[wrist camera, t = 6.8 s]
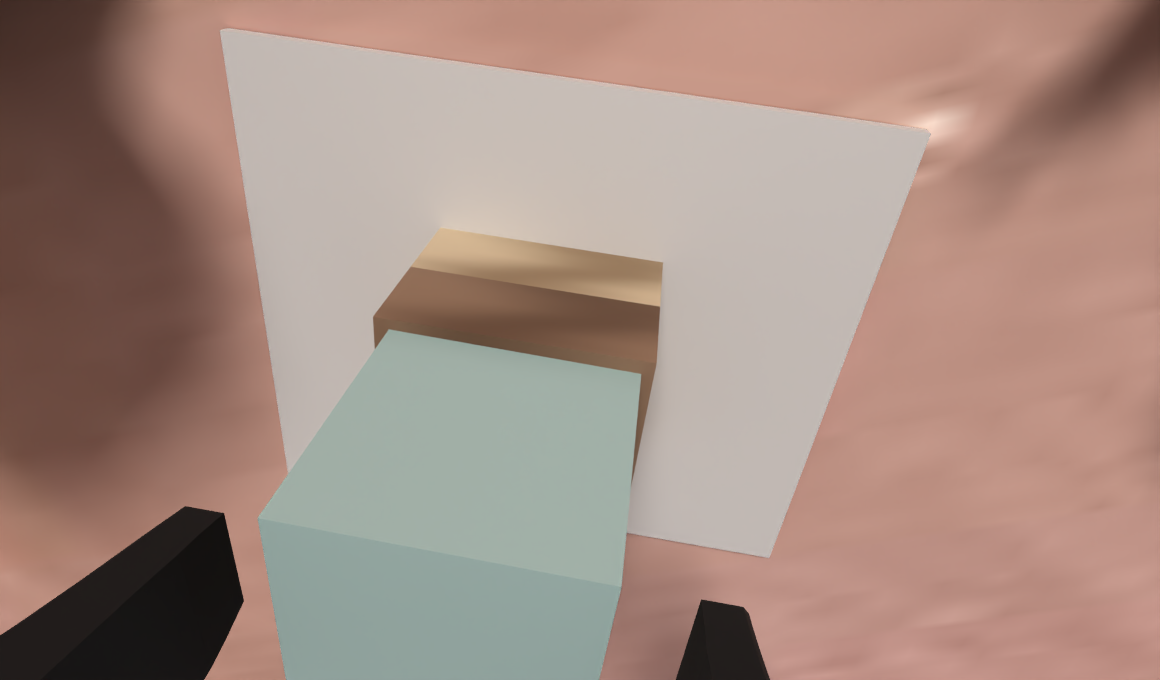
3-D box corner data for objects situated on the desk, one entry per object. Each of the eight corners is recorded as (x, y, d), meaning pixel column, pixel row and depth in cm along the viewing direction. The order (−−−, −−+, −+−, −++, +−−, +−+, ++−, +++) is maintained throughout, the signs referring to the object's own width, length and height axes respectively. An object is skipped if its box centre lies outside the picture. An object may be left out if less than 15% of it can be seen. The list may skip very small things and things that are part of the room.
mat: (926, 129, 14) (930, 133, 13) (768, 549, 20) (769, 558, 20) (227, 27, 14) (219, 30, 14) (292, 466, 21) (288, 473, 20)
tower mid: (659, 306, 14) (656, 363, 12) (623, 491, 16) (616, 558, 15) (410, 266, 14) (372, 317, 12) (414, 455, 17) (384, 517, 15)
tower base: (663, 262, 15) (659, 306, 14) (629, 436, 18) (623, 491, 16) (440, 227, 16) (410, 266, 14) (439, 404, 18) (414, 455, 17)
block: (641, 374, 12) (621, 587, 8) (604, 549, 15) (576, 775, 11) (389, 329, 12) (257, 518, 9) (393, 509, 15) (293, 718, 11)
